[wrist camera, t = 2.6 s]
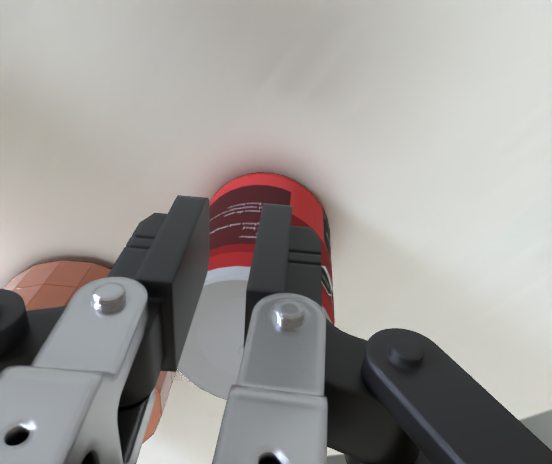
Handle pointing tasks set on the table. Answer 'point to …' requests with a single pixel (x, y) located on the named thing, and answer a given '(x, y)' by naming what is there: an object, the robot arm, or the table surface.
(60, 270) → the bowl
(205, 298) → the canned food
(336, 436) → the robot arm
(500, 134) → the table surface
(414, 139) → the table surface
